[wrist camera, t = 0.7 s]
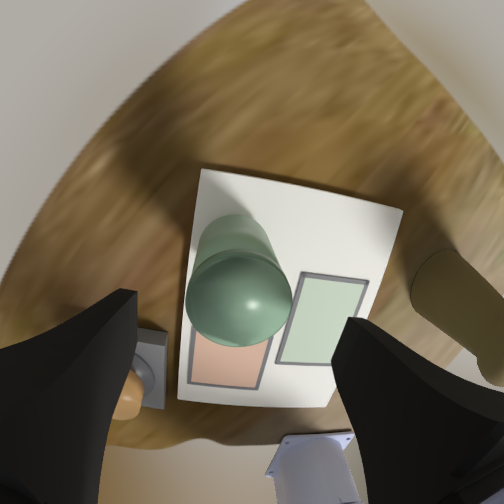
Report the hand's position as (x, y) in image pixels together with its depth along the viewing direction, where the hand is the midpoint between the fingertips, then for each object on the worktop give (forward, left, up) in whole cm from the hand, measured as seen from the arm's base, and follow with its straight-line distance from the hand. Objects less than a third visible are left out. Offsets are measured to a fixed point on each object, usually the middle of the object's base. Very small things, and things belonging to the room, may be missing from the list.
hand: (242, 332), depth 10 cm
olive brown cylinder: (-1, -17, -10) cm, 20 cm away
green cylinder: (0, 0, -9) cm, 9 cm away
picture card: (-5, -4, -9) cm, 11 cm away
